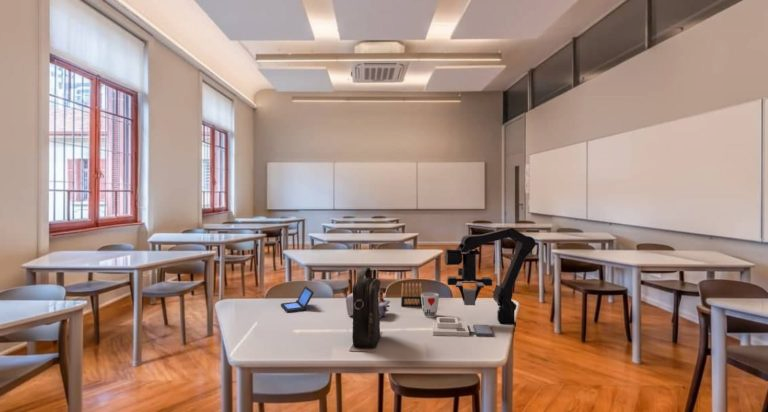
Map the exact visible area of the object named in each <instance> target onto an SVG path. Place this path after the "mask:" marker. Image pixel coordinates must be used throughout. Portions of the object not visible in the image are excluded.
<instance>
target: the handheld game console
mask: <svg viewBox="0 0 768 412" xmlns="http://www.w3.org/2000/svg"><path fill="white" fill-rule="evenodd" d="M313 296H314V291H313V290H312V289H310V288H309V287H307V286H303V290H301V293H300V295H299V297H298V298H297V300H296V301H290V302H282V303H280V307H281V308H282V309H283V311H285V313H287V314H290V312H292V313H298V311H300V312H306V311H307V309H306V308H307V306H308V304H309V302H310V301H311V299H312V297H313Z"/></svg>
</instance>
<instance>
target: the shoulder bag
mask: <svg viewBox="0 0 768 412" xmlns="http://www.w3.org/2000/svg"><path fill="white" fill-rule="evenodd" d="M381 284H382V283H381V280H380V279H378V278H374V277H372V270H371V268H370V267H367V266H365V267H360V268H359V269H358V271H357V274H356V282H355V283H354V284H353V285H352V293H353V316H352V345H351V346H350V348H349V350H348V351H350V352H351V351H352V352H367V353H368V352H370V353H371V352H372V353H373V352H375V351H376V349H377V347H378V344H379V343H380V339H381V337H382V335H383V331H381V326H380V325H381V322H380V321H381V318H380V315H379V302H378V301H379V298H380V296H379V293H380V287H381Z"/></svg>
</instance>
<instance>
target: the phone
mask: <svg viewBox="0 0 768 412" xmlns="http://www.w3.org/2000/svg"><path fill="white" fill-rule="evenodd" d="M472 329H473V331H476V334H475V335H476V337H489V338H490V337H491V338H492V337H494V333H493V330H492V329H491V327H490V325H489V324H472Z"/></svg>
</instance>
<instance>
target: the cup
mask: <svg viewBox="0 0 768 412" xmlns="http://www.w3.org/2000/svg"><path fill="white" fill-rule="evenodd" d="M439 296H440V295H439V293H437V292H422V294H421V301H422V307H421V308H422V313H423V315H424V317H425V318H435V317H437V316H436V315H437V313H438V308H439V301H440V300H439V299H440V298H439Z"/></svg>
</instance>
